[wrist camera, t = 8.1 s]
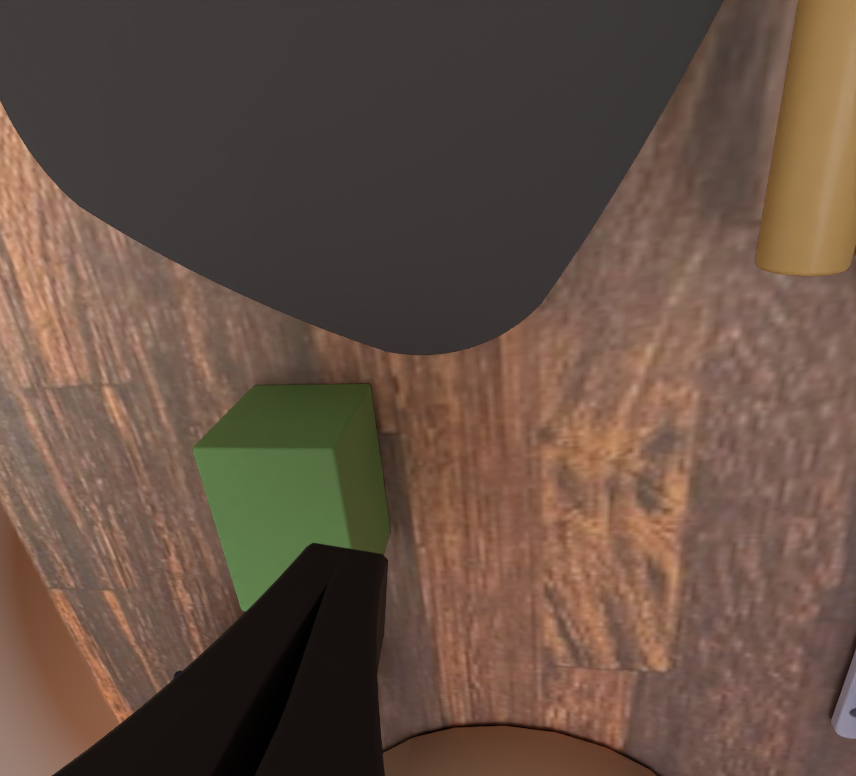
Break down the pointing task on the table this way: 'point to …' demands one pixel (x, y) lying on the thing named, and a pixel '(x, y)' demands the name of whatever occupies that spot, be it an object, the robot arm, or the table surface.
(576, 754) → the alarm clock
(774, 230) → the drawer
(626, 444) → the table surface
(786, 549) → the table surface
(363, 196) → the media streaming box
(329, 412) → the block
